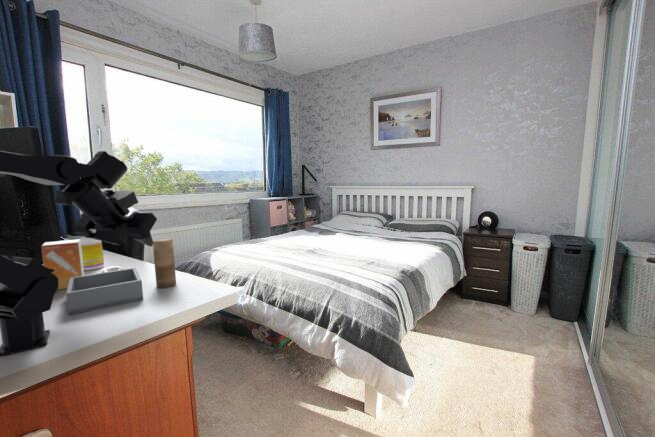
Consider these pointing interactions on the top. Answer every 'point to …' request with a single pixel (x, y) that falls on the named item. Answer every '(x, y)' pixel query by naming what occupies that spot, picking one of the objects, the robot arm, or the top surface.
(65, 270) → the small box
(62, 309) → the top surface
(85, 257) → the supplement bottle
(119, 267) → the saw cookie cutter
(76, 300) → the grey tote
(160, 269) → the brown cylinder
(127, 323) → the top surface
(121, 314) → the top surface
